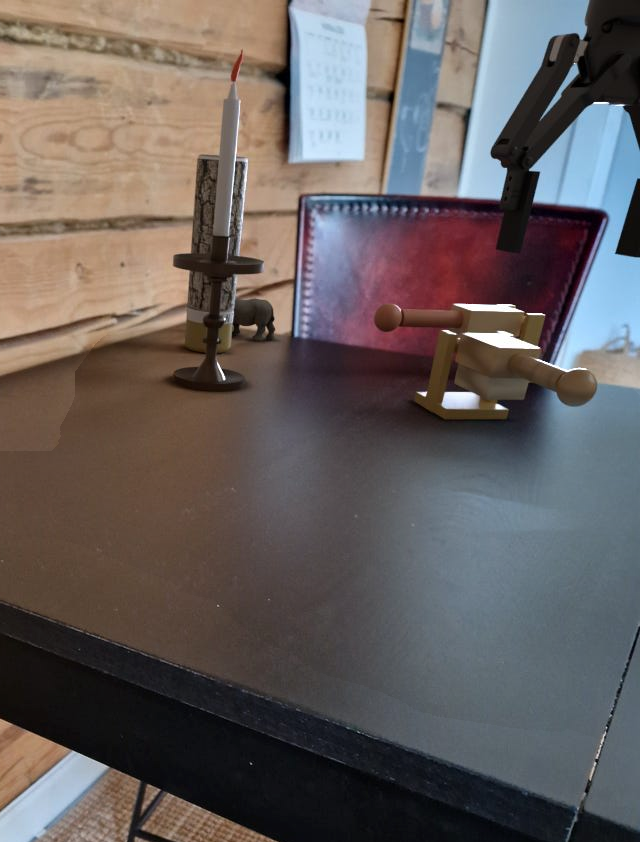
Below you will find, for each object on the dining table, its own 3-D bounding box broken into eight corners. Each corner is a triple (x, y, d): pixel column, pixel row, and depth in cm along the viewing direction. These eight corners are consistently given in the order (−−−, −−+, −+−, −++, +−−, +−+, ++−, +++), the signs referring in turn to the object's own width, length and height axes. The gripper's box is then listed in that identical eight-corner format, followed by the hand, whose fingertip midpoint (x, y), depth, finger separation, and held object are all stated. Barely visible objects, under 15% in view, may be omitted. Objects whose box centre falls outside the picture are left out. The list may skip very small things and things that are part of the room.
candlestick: (266, 383, 110) (305, 55, 92) (221, 397, 102) (254, 42, 85) (196, 368, 115) (220, 55, 98) (148, 380, 107) (165, 43, 90)
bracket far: (494, 382, 118) (511, 314, 113) (464, 369, 125) (479, 303, 120) (545, 383, 119) (564, 315, 115) (513, 369, 126) (529, 305, 122)
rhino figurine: (196, 328, 141) (199, 289, 138) (276, 339, 137) (281, 299, 134) (187, 332, 138) (190, 292, 135) (269, 343, 133) (274, 302, 130)
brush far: (378, 352, 114) (386, 306, 111) (362, 344, 118) (369, 299, 115) (526, 355, 118) (537, 310, 115) (504, 346, 123) (515, 304, 120)
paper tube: (181, 351, 124) (194, 154, 112) (187, 343, 130) (200, 154, 117) (227, 356, 123) (246, 157, 111) (232, 347, 129) (250, 157, 117)
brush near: (599, 433, 84) (618, 373, 81) (551, 433, 83) (568, 372, 80) (482, 379, 103) (494, 329, 100) (441, 379, 102) (452, 328, 99)
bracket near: (507, 419, 101) (527, 340, 96) (444, 419, 99) (462, 338, 95) (472, 401, 108) (490, 326, 103) (412, 401, 106) (428, 325, 101)
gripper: (727, -7, 76) (646, 253, 87) (488, -42, 70) (431, 244, 80) (803, -19, 70) (705, 262, 81) (548, -58, 63) (478, 254, 74)
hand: (569, 254), depth 80 cm, fingers open, 13 cm apart
